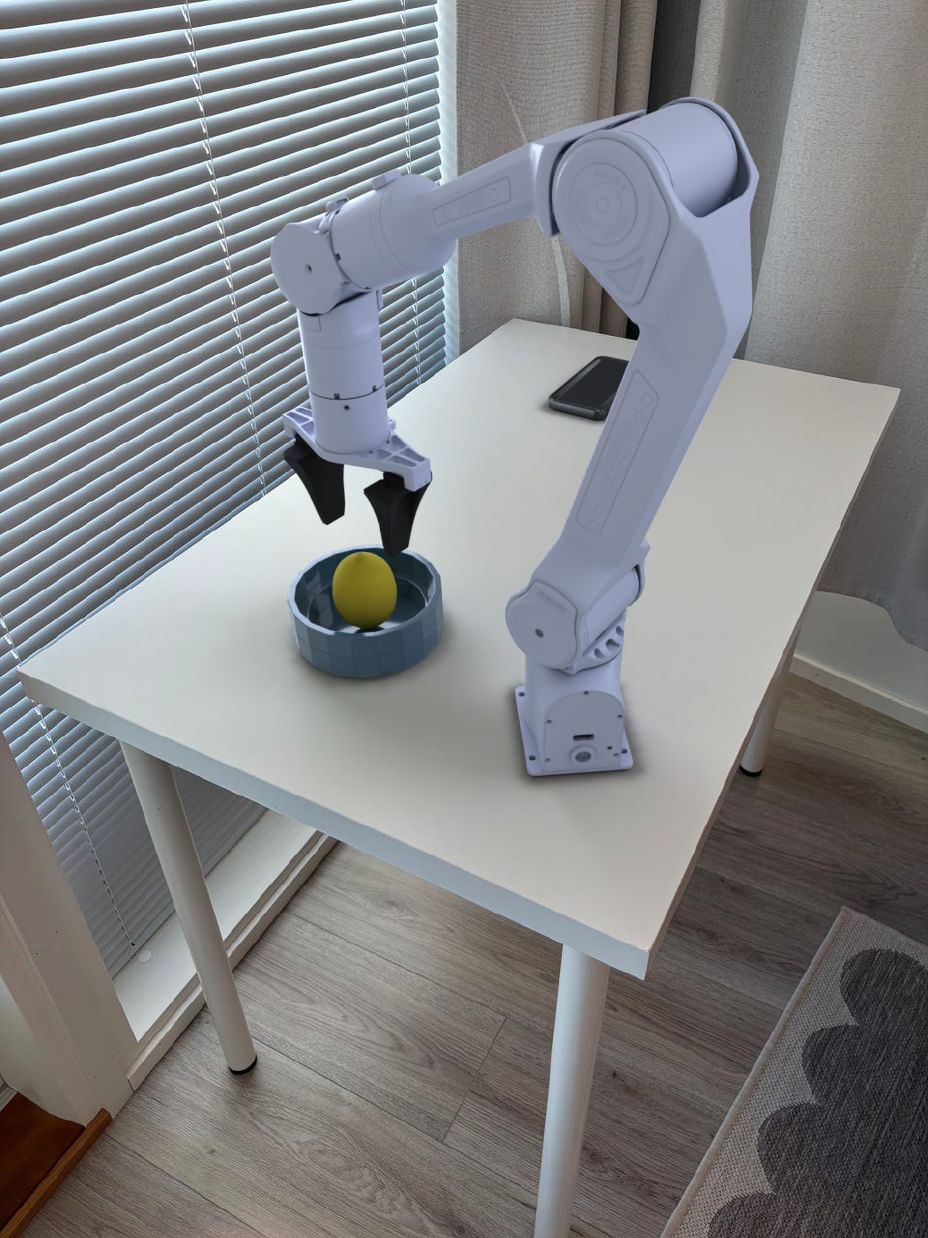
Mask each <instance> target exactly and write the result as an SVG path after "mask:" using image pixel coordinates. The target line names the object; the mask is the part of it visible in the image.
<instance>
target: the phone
mask: <svg viewBox="0 0 928 1238" xmlns="http://www.w3.org/2000/svg"><path fill="white" fill-rule="evenodd" d="M629 361H630V360H627V359H622V358H617V357H613V356H609V355H598V356H596V357H594V358H593V359H591V361H589V362H588V363H587V364H586V365H585V366H584V367H582V368H581V369H580V370H578V371H577V372H576V373H575V374H574V375H572V376H571V377H570V378H569V379H567V381H565V382H564V383H563V384H562V385H560V386H559V387H558V388H557V389H556V390H555V391H553V392H552V393H551V394H549V396H548V407H549V408H550V409H551V410H555V411H559V412H562V413H566V414H570V415H575V416H578V417H583V418H587V419H592V420H596V421H599V420H600V421H601V420H604V419H607V416H608V414H609V411H610V409H611V406H612V404H613V401H614V399H615V396H616V394H617V391H618V389H619V386H620V383H621V381H622V378H623V376H624V373H625V371H626V368H627V366H628V363H629Z"/></svg>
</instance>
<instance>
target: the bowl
mask: <svg viewBox="0 0 928 1238" xmlns="http://www.w3.org/2000/svg"><path fill="white" fill-rule="evenodd" d="M357 552H369V553H372V554H375V555H377V556H379V557H380V558H382V559H383V560H384V561H385V562H386V563H387V564H388V566H389V567H390V569H391V571H392V573H393V576H394V579H395V583H396V587H397V598H396V605H395V608H394V610H393V612H392V614H391V616H390V617H389V618H388V619H387V620H386V621H385V622H384V623H382V624H381V625H379V626H377V627H374V628H367V629H363V628H358V627H355V626H352V625H351V624H349V623H347V622H346V621H345V620H344V619H343V618H342V617H341V616H340V614H339V612H338V610H337V608H336V606H335V603H334V599H333V578H334V574H335V571H336V569H337V567H338V565H339V564H340V563H341V562H342V561H343V560H344V559H345V558H346V557H348V556H349V555H351V554H354V553H357ZM442 589H443V588H442V578H441V575H440V573H439V571H438V570H437V568H436V567H435V566H434V564H433V563H432V562H431V561H429V560H428V559H426V557H424V556H423V555H421V554H420V553H417V552H415V551H412V550H410V549H407V548H406V549H405V550H403V551H402V552H400V553H399V554H397V555H396V556H394V557H390V556H388V555H386V553H385V551H384V548H383V544H377V543H376V544H375V543H374V544H360V545H352V546H348V547H344V548H340V549H336V550H333V551H329V552H328V553H325V554H323V555H322V556H320V557H317V558H315V559H314V560H312V561H310V562H309V563H308V564H307V565H305V566H304V567H303V568H301V570H299V571H298V572H297V573H296V574H295V576H294V578H293V580H292V581H291V583H290V585H289V586H288V593H287V606H288V610H289V616H290V621H291V627H292V631H293V637H294V641H295V644H296V647H297V649H298V651H299V653H300V655H301V656H303V657H304V658H305V659H306V660H307V661H308V662H309V663H310V664H311V665H312V666H314V667H316V668H318V669H320V670H322V671H324V672H327V673H329V674H332V675H335V676H336V675H337V676H343V677H351V678H368V677H381V676H385V675H389V674H392V673H396V672H399V671H403V670H405V669H407V668H410V667H411V666H413V665H414V664H417V663H418V662H420V661H422V660H424V659H425V658H426V657H427V656H428V655H429V654H430V653H431V652H432V651H433V650H434V649H435V648H436V647H437V646H438V644H439V643H440V639H441V637H442V634H443V632H444V630H445V625H444V607H443V590H442Z"/></svg>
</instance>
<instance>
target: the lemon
mask: <svg viewBox="0 0 928 1238" xmlns="http://www.w3.org/2000/svg"><path fill="white" fill-rule="evenodd" d="M396 598H397V587H396V583H395V579H394V576H393V573H392V571H391V569H390V567H389V566H388V564H387V563H386V562H385V561H384V560H383V559H382V558H380V557H379V556H377V555H375V554H372V553H369V552H357V553H354V554H351V555H349V556H348V557H346V558H345V559H344V560H343V561H342V562H341V563H340V564H339V565H338V567H337V569H336V571H335V574H334V578H333V599H334V603H335V606H336V608H337V610H338V612H339V614H340V616H341V617H342V618H343V619H344V620H345V621H346V622H347V623H349V624H351V625H352V626H355V627H358V628H363V629H367V628H374V627H377V626H379V625H381V624H382V623H384V622H385V621H386V620H387V619H388V618H389V617H390V616H391V614H392V612H393V610H394V608H395V605H396Z"/></svg>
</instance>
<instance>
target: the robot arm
mask: <svg viewBox="0 0 928 1238" xmlns="http://www.w3.org/2000/svg"><path fill="white" fill-rule="evenodd" d="M646 113H647V109H640V110H635V111H630V112H625V113H621V114H617V115H614V116H610V117H606V118H603V119H599V120H594V121H591V122H588V123H584V124H580V125H575V126H572V127H569V128H565V129H563V130H560V131H556V132H553V133H551V134H549V135H547V136H544V137H542V138H541V137H540V138H539V139H537V140H534V141H531V142H530V141H529V142H528V143H526V144H523V145H522V146H520V147H518V148H516V149H514V150H511V151H509V152H507V153H506V154H505V153H504V154H503V155H501V156H499V157H497V158H495V159H493V160H491V161H489V162H487V163H485V164H482V165H480V166H478V167H476V168H473V169H472V170H470V171H468V172H466V173H463V174H461V175H460V176H457V177H455V178H453V179H451V180H449V181H447V182H445V183H443V184H440V185H438V184H437V183H436V182H435V181H433V180H432V179H430V178H428V177H427V176H425V175H422V174H417V173H409V174H405V175H402V174H401V171H400V169H397V168H395V169H393V170H392V169H391V170H389V171H387V172H384V173H382V174H379V175H376V176H375V177H373V178H371V180H370V183H371V187H372V188H373V189H371V190H370V191H368V192H365V193H363V194H361V195H359V196H357V197H354V198H352V199H350V198H349V197H348V196H347V195H342V196H339V197H337V198H334V199H332V200H329V201H328V202H327V203H326V204H325V208H326V212H323V213H321V214H318V215H316V216H313V217H311V218H310V217H309V218H307V219H305V220H302V221H300V222H299V221H298V222H289V223H286V225H284V226H283V228H282V230H280V231H279V232H278V233H277V234H276V235H275V236H274V238H273V240H272V242H271V247H270V254H269V255H270V266H271V271H272V274H273V277H274V280H275V282H276V284H277V287H278V288H279V291H280V292H281V293H282V295H283V296H284V297H285V299H286V300H287V301H288V303H290V304H291V305H292V306H293V308H295V309H296V316H297V322H298V328H299V329H298V330H299V336H300V343H301V349H302V356H303V364H304V369H305V376H306V382H307V389H308V397H309V402H310V408H307V407H304V406H301V405H299V406H297V407H295V408H293V409H291V410H289V411H287V412H285V413H283V414H282V415H281V416H282V417H281V418H282V422H283V428H284V435H285V436H286V437H288V438H290V439H293V440H294V441H293V445H292V446H290V447H288V448H286V449H285V450H284V451H283V453H282V454H283V455H282V456H283V460H284V462H286V464H287V465H288V466H289V467H290V468H291V469H292V470H293V471H294V473H295V474H296V475H297V477H298V478H299V480H300V481H301V483H302V484H303V486H304V488H305V490H306V492H307V493H308V496H309V498H310V499H311V502H312V504H313V506H314V508H315V511H316V512H317V515H318V517H319V519H320V521H321V523H322V524H323V525H326V526H329V525H330V524H332V523H334V522H336V521H337V520H339V519H340V518H343V517H344V516H345V515H346V492H345V490H346V489H345V466H353V467H357V468H365V469H370V470H377V471H379V472H382V478H379V479H378V480H376V481H375V482H373V483H371V484H369V485H368V486H366V487H364V488H363V495H364V496H365V498H366V499H367V501H368V502H369V504H370V506H371V507H372V509H373V512H374V515H375V517H376V520H377V524H378V528H379V533H380V539H381V545H383V548H384V551H385V553H386V555H388V556H390V557H394V556H396V555H397V554H399V553H400V552H402V551H403V550H405V549H406V550H407V549H408V548H409V547H410V541H411V536H412V531H413V526H414V522H415V518H416V515H417V512H418V509H419V506H420V504H421V502H422V499H423V498H424V495H425V493H427V490H428V488H429V486H430V485H431V483H432V482H433V471H432V468H431V459H430V458H428V457H426V456H424V455H422V454H421V453H419V452H418V451H416V450H415V449H414V448H413V447H411V445H409V444H408V443H407V442H406V441H405V440H404V439H403V438H402V437H401V436H399V434H397V433H396V432H395V429H397V422H396V419H394V418H393V417H391V416H389V413H388V405H387V404H388V403H387V391H386V381H385V372H384V361H383V351H382V340H381V339H382V338H381V329H380V318H379V314H380V312H381V311H382V308H384V298H383V297H384V296H383V292H384V291H383V289H384V288H388V287H390V286H393V285H396V284H400V283H402V282H405V281H409V280H411V279H414V278H417V277H420V276H422V275H425V274H428V273H432V272H435V271H437V270H440V269H441V268H443V267H444V266H446V264H448V262H449V261H450V260H451V258H452V256H453V254H454V252H455V249H456V245H457V240H458V239H461V238H464V237H468V236H470V235H471V236H472V235H473V234H477V233H480V232H483V231H487V230H489V229H492V228H496V227H498V226H499V227H500V226H502V225H504V224H508V223H511V222H514V221H517V220H520V219H524V218H527V217H530V216H533V218H534V219H535V221H536V223H537V225H538V227H539V228H540V230H541V232H542V234H543V235H544V236H545V237H546V238H550V239H552V238H555V237H557V236H559V235H561V237H562V238H563V240H564V241H565V243H566V244H567V246H568V247H569V248H570V250H571V251H572V253H573V254H574V255H575V256H576V258H577V259H578V260H579V261H580V262H581V263H582V265H583V266H584V267H585V269H587V270H588V272H590V274H591V275H592V276H593V277H594V279H595V280H596V281H597V282H598V283H599V285H601V287H602V288H603V289H604V290H605V292H607V294H608V295H609V296H610V297H611V299H613V301H614V302H615V303H616V304H617V306H618V307H619V308H620V309H621V310H622V311H623V313H624V314H625V315H626V316H627V317H628V319H630V321H631V322H632V323H634V324H635V325H637V327H638V328H639V335H638V338H637V340H636V342H635V346H634V348H633V350H632V353H631V356H630V358H629V360H628V361H629V363H628V366H627V368H626V371H625V373H624V376H623V378H622V381H621V383H620V386H619V389H618V391H617V394H616V396H615V399H614V401H613V404H612V406H611V409H610V411H609V414H608V416H607V417H606V418H605V421H604V423H603V426H602V430H601V432H600V434H599V437H598V439H597V442H596V444H595V447H594V450H593V452H592V455H591V457H590V460H589V462H588V465H587V466H586V470H585V472H584V475H583V478H582V480H581V483H580V485H579V487H578V490H577V492H576V496H575V498H574V500H573V503H572V506H571V508H570V510H569V513H568V516H567V518H566V520H565V523H564V526H563V528H562V530H561V533H560V535H559V536H558V538H557V539H556V541H555V542H554V543H553V544H552V546H551V547H550V548H549V549H548V551H547V553H546V554H545V555H544V556H543V558H542V559H541V560H540V562H539V563H538V565H537V566H536V567H535V569H534V570H533V571H532V573H531V575H530V579H529V581H528V583H527V585H526V586H525V587H523V588H521V589H520V590H518V591H517V592H515V593H514V594H513V595H511V596H510V598H509V599H508V601H507V603H506V606H505V609H504V616H505V617H504V618H505V625H506V628H507V631H508V632H509V634H510V637H511V638H512V640H513V642H514V643H515V645H516V646H517V647H518V649H519V650H520V651H521V652H522V653H523V654H524V656H525V659H524V667H525V668H524V685H521V686H517V687H515V689H514V696H515V702H516V710H517V714H518V715H517V716H518V722H519V727H520V728H519V729H520V734H521V741H522V746H523V752H524V759H525V765H526V772H527V773H528V775H529V776H531V777H537V776H538V777H539V776H540V777H541V776H551V775H553V776H554V775H565V774H566V775H567V774H579V773H592V772H606V771H618V770H619V771H620V770H629V769H631V768H632V767H633V766H634V759H633V756H632V751H631V749H630V748H631V747H630V744H629V741H628V738H627V737H628V736H627V733H626V730H625V723H626V722H625V721H626V706H625V705H626V704H625V702H624V699H623V695H622V691H621V686H620V682H621V671H622V670H621V669H622V660H623V652H624V651H623V649H624V640H625V623H626V617H627V608H629V607H631V606H632V605H633V604H634V603H635V602H637V601H638V600H639V599H640V597H642V594H643V592H644V589H645V586H646V575H645V562H646V558H647V556H648V553H649V552H650V549H651V544H650V543H649V542H648V540H646V539H645V537H646V536H647V533H648V531H649V529H650V527H651V525H652V523H653V521H654V519H655V517H656V515H657V513H658V511H659V509H660V507H661V506H662V502H663V501H664V498H665V497H666V494H667V492H668V491H669V488H670V486H671V485H672V483H673V481H674V478H675V476H676V475H677V472H678V471H679V468H680V466H681V464H682V462H683V460H684V458H685V456H686V454H687V452H688V450H689V448H690V446H691V444H692V441H693V440H694V438H695V436H696V433H697V431H698V429H699V427H700V426H701V423H702V421H703V419H704V418H705V415H706V413H707V410H708V409H709V407H710V405H711V404H712V401H713V399H714V396H715V394H716V392H717V390H718V388H719V387H720V384H721V382H722V381H723V380H722V379H723V378H724V376H725V374H726V372H727V370H728V368H729V366H730V364H731V362H732V360H733V359H734V356H735V354H736V351H737V349H738V347H739V345H740V344H741V341H742V339H743V337H744V335H745V333H746V331H747V329H748V327H749V324H750V320H751V317H752V314H753V280H752V277H753V275H752V248H751V247H752V246H751V243H752V242H751V210H752V206H753V201H754V198H755V194H756V192H757V188H758V183H759V180H760V173H759V171H758V168H757V166H756V164H755V162H754V159H753V157H752V155H751V153H750V151H749V148H748V146H747V144H746V142H745V139H744V137H743V135H742V133H741V131H740V129H739V126H738V125H737V124H736V121H735V120H734V118H733V117H732V116H731V115H730V113H728V111H726V110H725V109H724V108H723V107H722V106H721V105H719V104H718V103H716V102H714V101H712V100H710V99H707V98H703V97H698V96H685V97H679V98H676V99H674V100H672V101H670V102H667V103H665V104H663V105H662V106H660V107H659V108H658V109H657V110H655V111H652V112H650V113H648V114H646Z"/></svg>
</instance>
